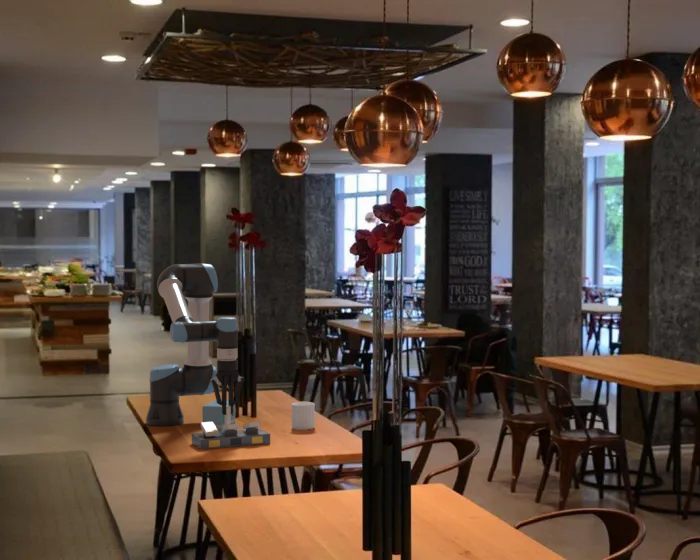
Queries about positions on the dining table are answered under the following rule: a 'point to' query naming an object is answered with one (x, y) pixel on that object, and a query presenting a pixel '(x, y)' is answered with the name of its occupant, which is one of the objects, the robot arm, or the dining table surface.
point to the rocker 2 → (231, 427)
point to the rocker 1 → (209, 429)
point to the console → (231, 438)
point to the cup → (303, 415)
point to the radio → (216, 414)
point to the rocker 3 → (251, 425)
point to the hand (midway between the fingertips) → (227, 423)
